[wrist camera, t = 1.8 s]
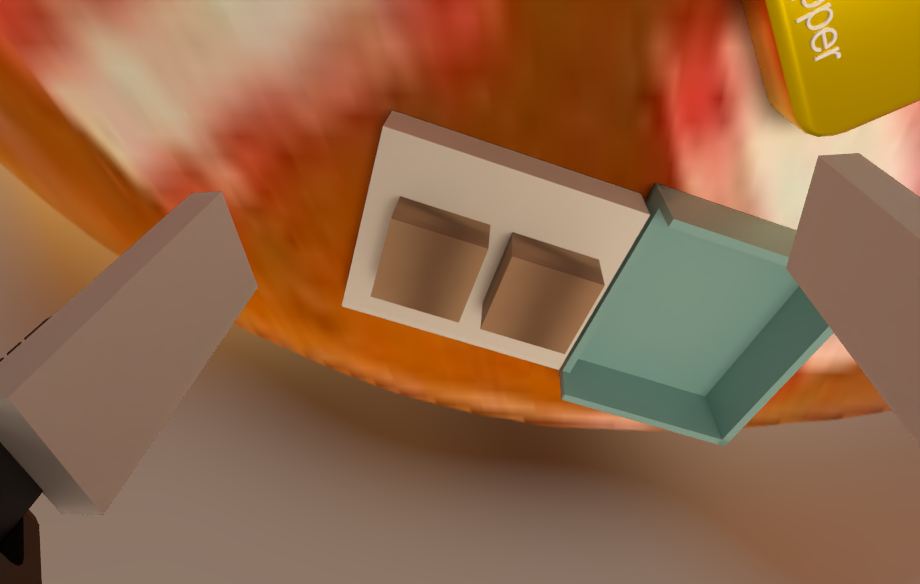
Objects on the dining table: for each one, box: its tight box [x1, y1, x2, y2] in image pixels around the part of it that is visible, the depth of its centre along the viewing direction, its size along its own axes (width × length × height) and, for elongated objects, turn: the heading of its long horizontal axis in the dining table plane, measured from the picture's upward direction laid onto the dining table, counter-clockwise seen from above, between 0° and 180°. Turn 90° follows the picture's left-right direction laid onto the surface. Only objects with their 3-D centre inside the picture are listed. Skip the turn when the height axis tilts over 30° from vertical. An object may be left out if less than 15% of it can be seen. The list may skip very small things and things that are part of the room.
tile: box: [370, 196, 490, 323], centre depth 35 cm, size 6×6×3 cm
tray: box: [559, 183, 834, 446], centre depth 39 cm, size 14×16×5 cm
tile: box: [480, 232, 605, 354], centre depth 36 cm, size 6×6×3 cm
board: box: [342, 110, 650, 370], centre depth 38 cm, size 17×14×3 cm
